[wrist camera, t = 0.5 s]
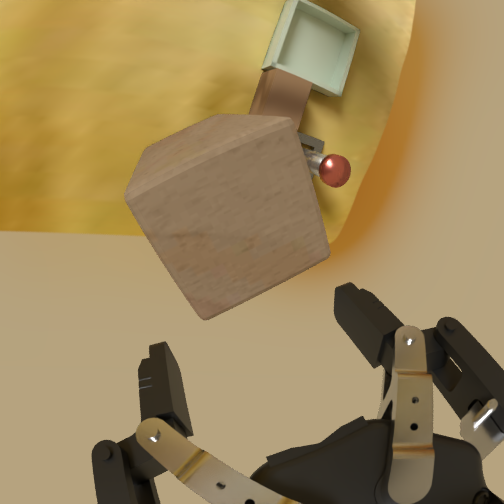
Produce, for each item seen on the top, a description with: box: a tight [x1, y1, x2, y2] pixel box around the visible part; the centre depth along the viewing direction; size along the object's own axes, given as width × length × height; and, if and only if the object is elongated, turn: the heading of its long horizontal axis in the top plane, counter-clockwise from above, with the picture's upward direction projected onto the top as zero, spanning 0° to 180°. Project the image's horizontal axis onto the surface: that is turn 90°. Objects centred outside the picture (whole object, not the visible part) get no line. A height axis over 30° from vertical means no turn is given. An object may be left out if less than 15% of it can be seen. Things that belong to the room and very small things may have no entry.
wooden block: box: [124, 114, 330, 320], centre depth 25 cm, size 10×10×20 cm
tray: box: [262, 0, 360, 97], centre depth 28 cm, size 11×10×3 cm
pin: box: [302, 148, 351, 188], centre depth 32 cm, size 3×3×10 cm
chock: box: [249, 68, 313, 130], centre depth 30 cm, size 6×4×5 cm
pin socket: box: [297, 132, 324, 179], centre depth 36 cm, size 6×6×1 cm
